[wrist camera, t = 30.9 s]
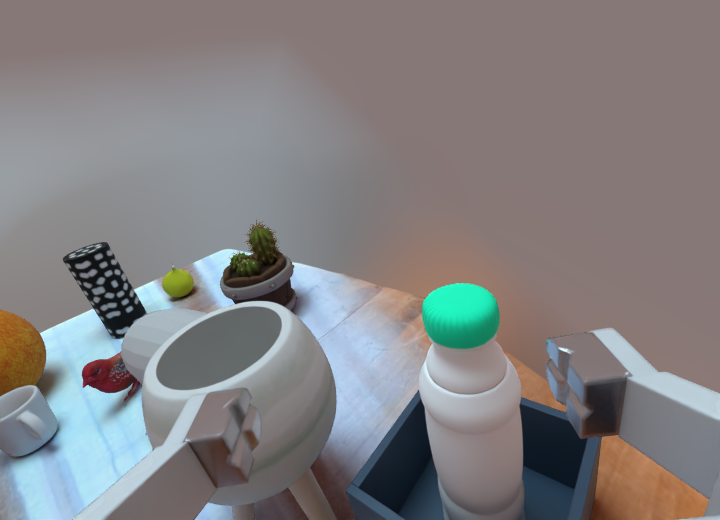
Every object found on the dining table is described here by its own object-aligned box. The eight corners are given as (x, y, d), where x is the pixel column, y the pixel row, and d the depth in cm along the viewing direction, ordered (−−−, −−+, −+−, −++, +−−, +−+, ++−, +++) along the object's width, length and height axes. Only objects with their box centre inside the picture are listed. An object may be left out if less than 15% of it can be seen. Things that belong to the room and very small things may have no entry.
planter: (191, 552, 38) (73, 398, 28) (279, 423, 51) (219, 286, 41) (323, 623, 31) (224, 447, 21) (387, 452, 43) (345, 293, 34)
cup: (86, 427, 58) (57, 391, 55) (31, 475, 52) (-5, 437, 48) (50, 415, 63) (21, 381, 59) (-5, 457, 56) (-40, 421, 53)
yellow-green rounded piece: (190, 300, 91) (173, 265, 87) (164, 304, 92) (146, 270, 88) (202, 285, 98) (186, 252, 93) (178, 289, 99) (161, 257, 94)
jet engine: (172, 502, 43) (96, 397, 36) (159, 402, 60) (105, 315, 52) (286, 430, 49) (241, 326, 42) (246, 357, 65) (209, 273, 58)
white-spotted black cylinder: (104, 335, 84) (55, 259, 76) (137, 314, 90) (95, 241, 82) (124, 341, 80) (74, 261, 71) (157, 318, 86) (115, 242, 78)
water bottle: (543, 528, 32) (544, 292, 22) (489, 589, 30) (460, 352, 19) (479, 470, 38) (455, 260, 27) (429, 516, 35) (380, 302, 24)
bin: (551, 702, 25) (554, 637, 20) (369, 555, 34) (345, 490, 30) (594, 497, 35) (603, 425, 30) (444, 428, 44) (434, 367, 40)
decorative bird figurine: (101, 424, 58) (66, 377, 54) (160, 349, 74) (137, 309, 69) (117, 422, 58) (83, 375, 53) (174, 348, 73) (151, 307, 69)
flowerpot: (248, 346, 68) (207, 251, 60) (230, 313, 81) (193, 231, 72) (316, 311, 74) (288, 220, 66) (289, 286, 87) (262, 207, 78)
